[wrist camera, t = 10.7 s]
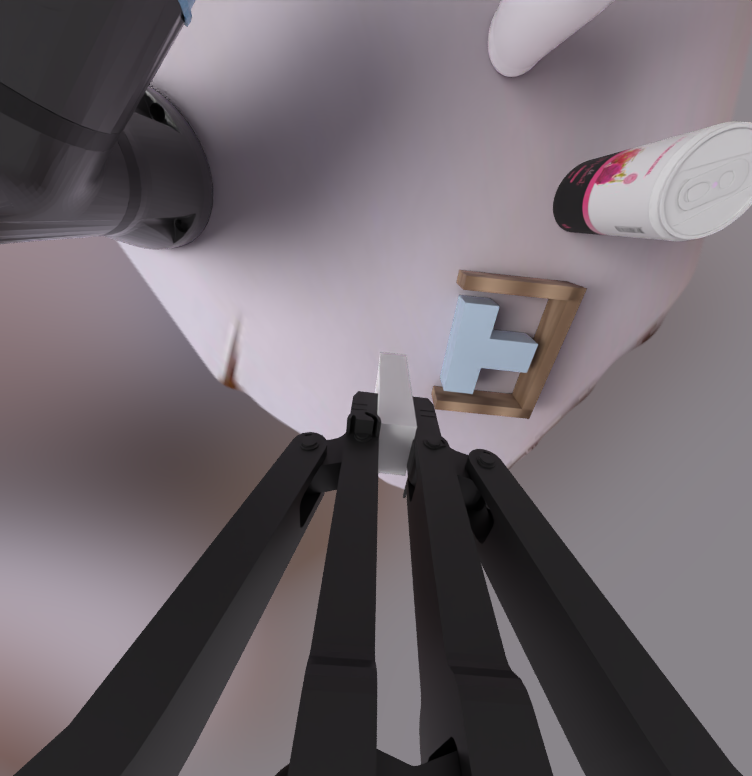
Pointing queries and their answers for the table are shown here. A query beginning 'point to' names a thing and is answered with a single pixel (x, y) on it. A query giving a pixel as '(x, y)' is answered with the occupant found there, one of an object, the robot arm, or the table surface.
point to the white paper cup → (535, 30)
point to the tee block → (481, 345)
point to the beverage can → (662, 187)
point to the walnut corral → (547, 337)
